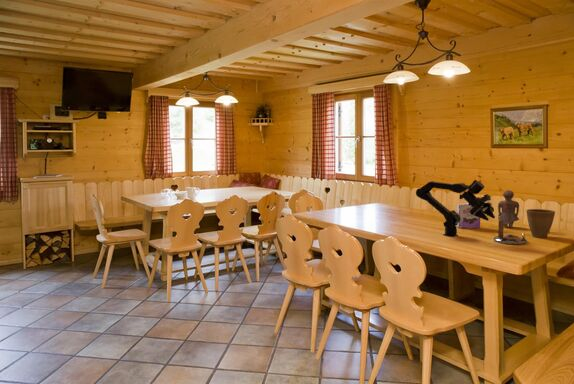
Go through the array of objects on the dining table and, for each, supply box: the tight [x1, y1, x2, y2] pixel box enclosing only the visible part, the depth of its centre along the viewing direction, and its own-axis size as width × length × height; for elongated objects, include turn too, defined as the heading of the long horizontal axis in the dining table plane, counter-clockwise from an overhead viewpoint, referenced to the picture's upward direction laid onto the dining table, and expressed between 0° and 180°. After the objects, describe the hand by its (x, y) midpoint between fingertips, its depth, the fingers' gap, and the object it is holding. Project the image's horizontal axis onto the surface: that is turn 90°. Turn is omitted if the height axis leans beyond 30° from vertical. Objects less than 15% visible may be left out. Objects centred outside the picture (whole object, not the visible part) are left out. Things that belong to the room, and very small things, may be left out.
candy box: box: [456, 202, 481, 230], centre depth 287 cm, size 14×6×16 cm, turn 81°
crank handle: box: [497, 219, 521, 242], centre depth 243 cm, size 12×13×11 cm
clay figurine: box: [497, 189, 520, 228], centre depth 285 cm, size 13×10×25 cm
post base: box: [493, 233, 528, 246], centre depth 246 cm, size 17×17×5 cm
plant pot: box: [525, 208, 556, 239], centre depth 256 cm, size 15×15×16 cm
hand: (491, 219), depth 246 cm, fingers open, 9 cm apart
